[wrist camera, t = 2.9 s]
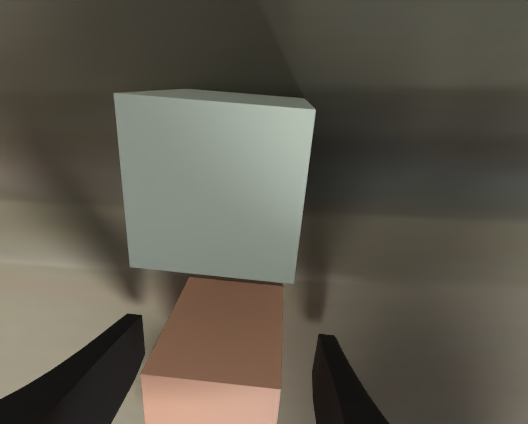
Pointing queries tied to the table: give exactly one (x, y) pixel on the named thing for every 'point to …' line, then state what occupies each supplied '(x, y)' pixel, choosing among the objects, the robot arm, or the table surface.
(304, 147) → the sage block
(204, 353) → the terracotta block
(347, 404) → the robot arm
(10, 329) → the table surface
